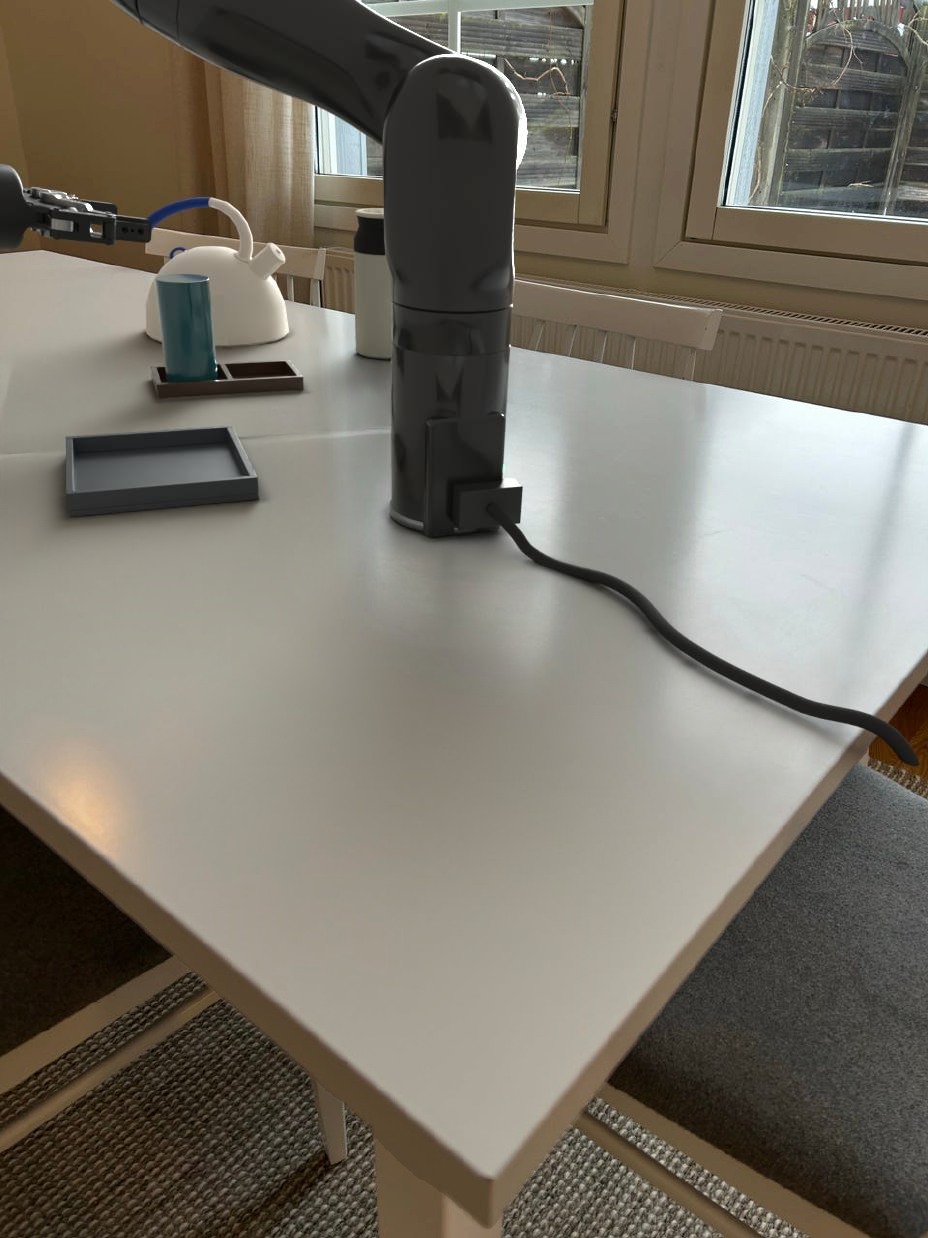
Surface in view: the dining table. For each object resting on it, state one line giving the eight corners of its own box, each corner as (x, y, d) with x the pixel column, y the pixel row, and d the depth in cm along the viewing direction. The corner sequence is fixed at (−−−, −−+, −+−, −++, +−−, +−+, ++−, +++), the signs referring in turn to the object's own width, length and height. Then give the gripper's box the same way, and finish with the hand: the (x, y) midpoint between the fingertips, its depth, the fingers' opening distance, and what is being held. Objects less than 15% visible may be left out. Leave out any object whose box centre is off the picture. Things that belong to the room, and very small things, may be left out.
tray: (259, 499, 81) (257, 477, 81) (69, 517, 77) (65, 493, 76) (233, 444, 94) (231, 424, 93) (69, 457, 89) (65, 436, 88)
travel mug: (346, 356, 128) (342, 211, 119) (369, 344, 135) (368, 206, 126) (400, 362, 126) (401, 215, 117) (422, 350, 132) (424, 210, 124)
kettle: (264, 353, 128) (255, 207, 119) (119, 342, 130) (100, 198, 122) (309, 323, 145) (304, 195, 137) (180, 314, 148) (167, 187, 139)
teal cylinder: (221, 390, 109) (212, 281, 104) (169, 393, 107) (156, 282, 102) (215, 378, 114) (205, 273, 108) (165, 380, 112) (152, 274, 106)
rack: (303, 392, 111) (303, 376, 110) (158, 401, 106) (156, 384, 105) (289, 374, 118) (289, 359, 117) (152, 382, 113) (150, 366, 112)
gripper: (-16, 170, 81) (165, 195, 91) (-64, 146, 90) (106, 172, 100) (-14, 261, 84) (160, 276, 95) (-61, 230, 93) (104, 246, 104)
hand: (132, 222), depth 97 cm, fingers open, 8 cm apart
